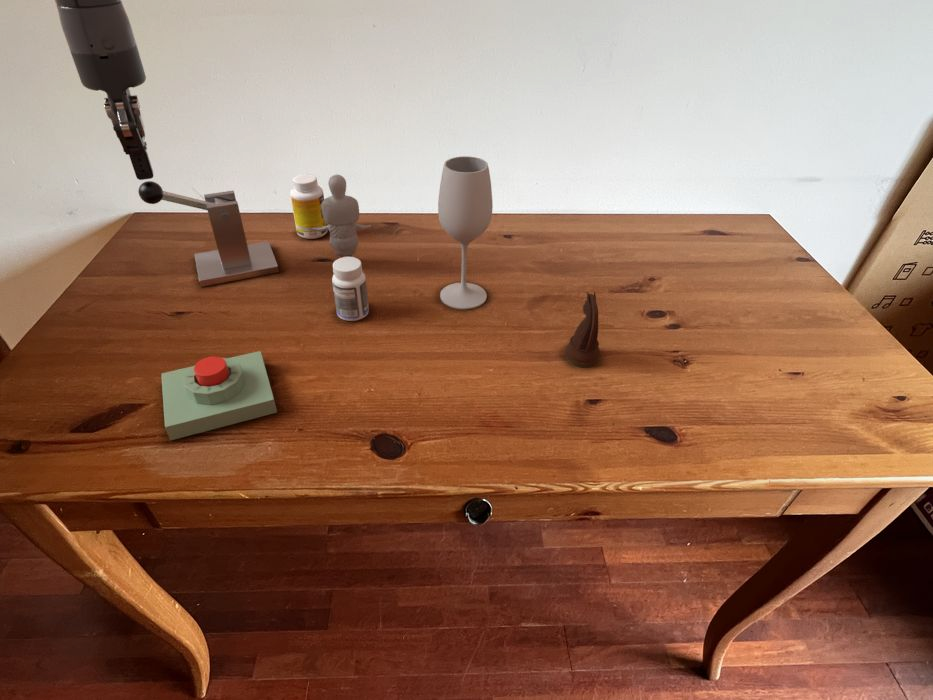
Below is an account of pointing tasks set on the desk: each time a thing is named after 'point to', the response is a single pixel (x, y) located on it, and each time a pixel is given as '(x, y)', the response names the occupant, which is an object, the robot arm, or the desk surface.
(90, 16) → the robot arm
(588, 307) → the chess piece
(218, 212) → the lever stand
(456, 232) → the wineglass
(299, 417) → the desk surface
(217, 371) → the red button
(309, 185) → the supplement bottle
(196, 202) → the lever handle
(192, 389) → the button block
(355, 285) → the pill bottle
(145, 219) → the desk surface
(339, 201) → the figurine
